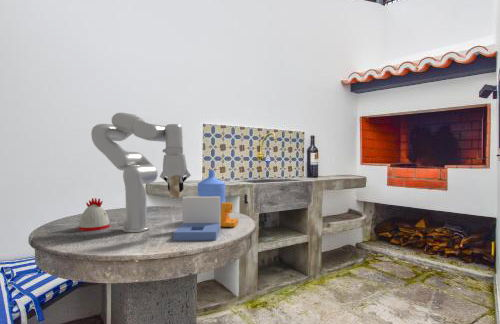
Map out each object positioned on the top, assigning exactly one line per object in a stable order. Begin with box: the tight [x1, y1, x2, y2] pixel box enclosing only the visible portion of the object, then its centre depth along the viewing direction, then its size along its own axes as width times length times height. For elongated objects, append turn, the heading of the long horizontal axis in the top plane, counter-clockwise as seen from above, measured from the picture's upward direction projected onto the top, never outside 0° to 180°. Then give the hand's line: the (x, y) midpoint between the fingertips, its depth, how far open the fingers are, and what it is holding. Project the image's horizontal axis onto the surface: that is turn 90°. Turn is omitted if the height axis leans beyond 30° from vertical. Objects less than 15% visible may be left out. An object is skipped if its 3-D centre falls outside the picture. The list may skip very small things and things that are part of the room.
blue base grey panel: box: [172, 196, 221, 242], centre depth 140 cm, size 18×20×16 cm
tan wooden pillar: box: [169, 175, 183, 199], centre depth 140 cm, size 4×6×10 cm, turn 0°
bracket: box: [220, 201, 239, 228], centre depth 158 cm, size 11×7×12 cm, turn 168°
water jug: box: [196, 169, 226, 214], centre depth 173 cm, size 16×16×28 cm
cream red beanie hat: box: [78, 197, 111, 232], centre depth 155 cm, size 14×14×15 cm
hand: (175, 191), depth 140 cm, fingers closed on tan wooden pillar, 4 cm apart
